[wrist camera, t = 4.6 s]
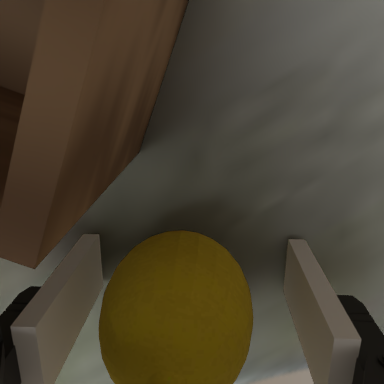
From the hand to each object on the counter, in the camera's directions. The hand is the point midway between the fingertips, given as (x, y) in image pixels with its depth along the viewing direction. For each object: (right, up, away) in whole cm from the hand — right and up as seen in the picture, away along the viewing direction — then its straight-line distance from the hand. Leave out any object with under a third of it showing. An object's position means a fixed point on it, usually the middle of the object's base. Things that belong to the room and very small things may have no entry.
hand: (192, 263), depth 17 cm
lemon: (0, 0, +1) cm, 1 cm away
